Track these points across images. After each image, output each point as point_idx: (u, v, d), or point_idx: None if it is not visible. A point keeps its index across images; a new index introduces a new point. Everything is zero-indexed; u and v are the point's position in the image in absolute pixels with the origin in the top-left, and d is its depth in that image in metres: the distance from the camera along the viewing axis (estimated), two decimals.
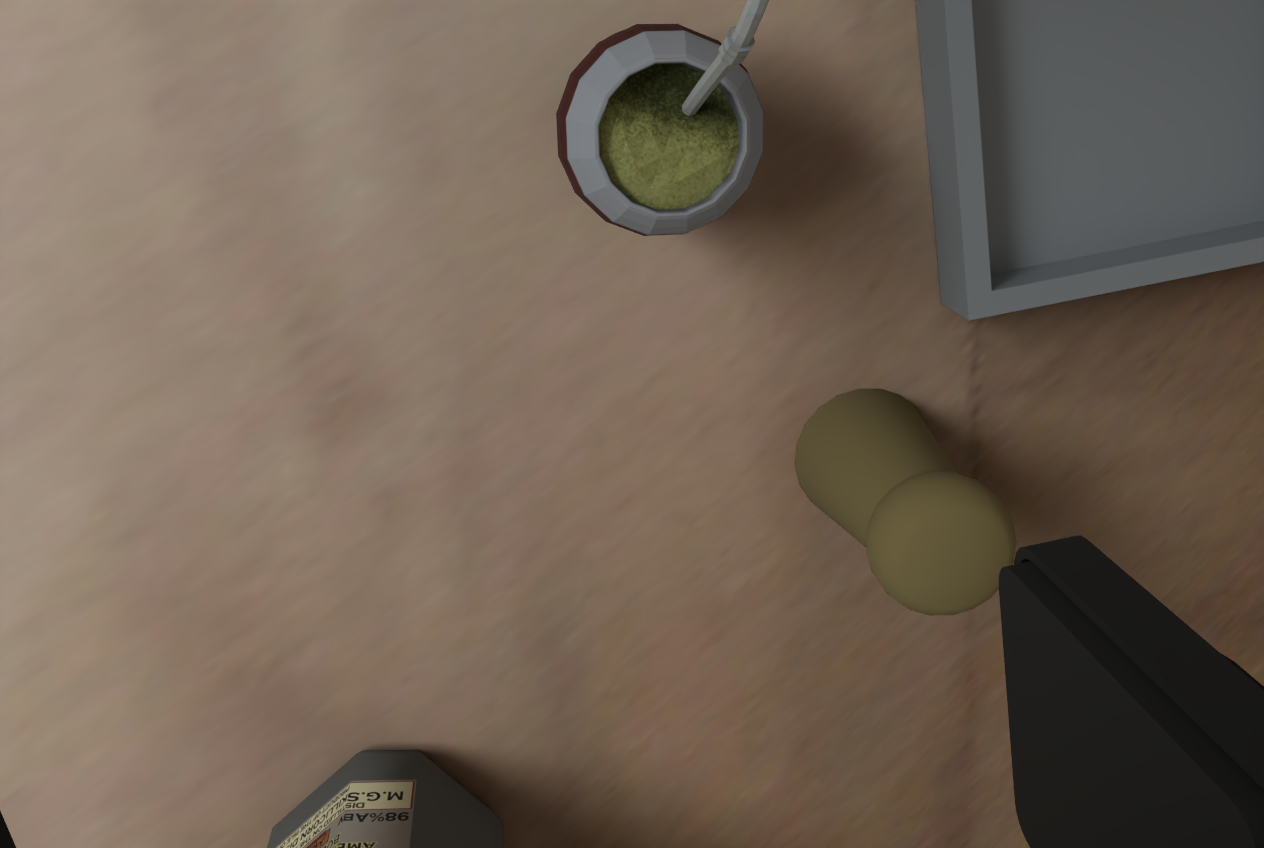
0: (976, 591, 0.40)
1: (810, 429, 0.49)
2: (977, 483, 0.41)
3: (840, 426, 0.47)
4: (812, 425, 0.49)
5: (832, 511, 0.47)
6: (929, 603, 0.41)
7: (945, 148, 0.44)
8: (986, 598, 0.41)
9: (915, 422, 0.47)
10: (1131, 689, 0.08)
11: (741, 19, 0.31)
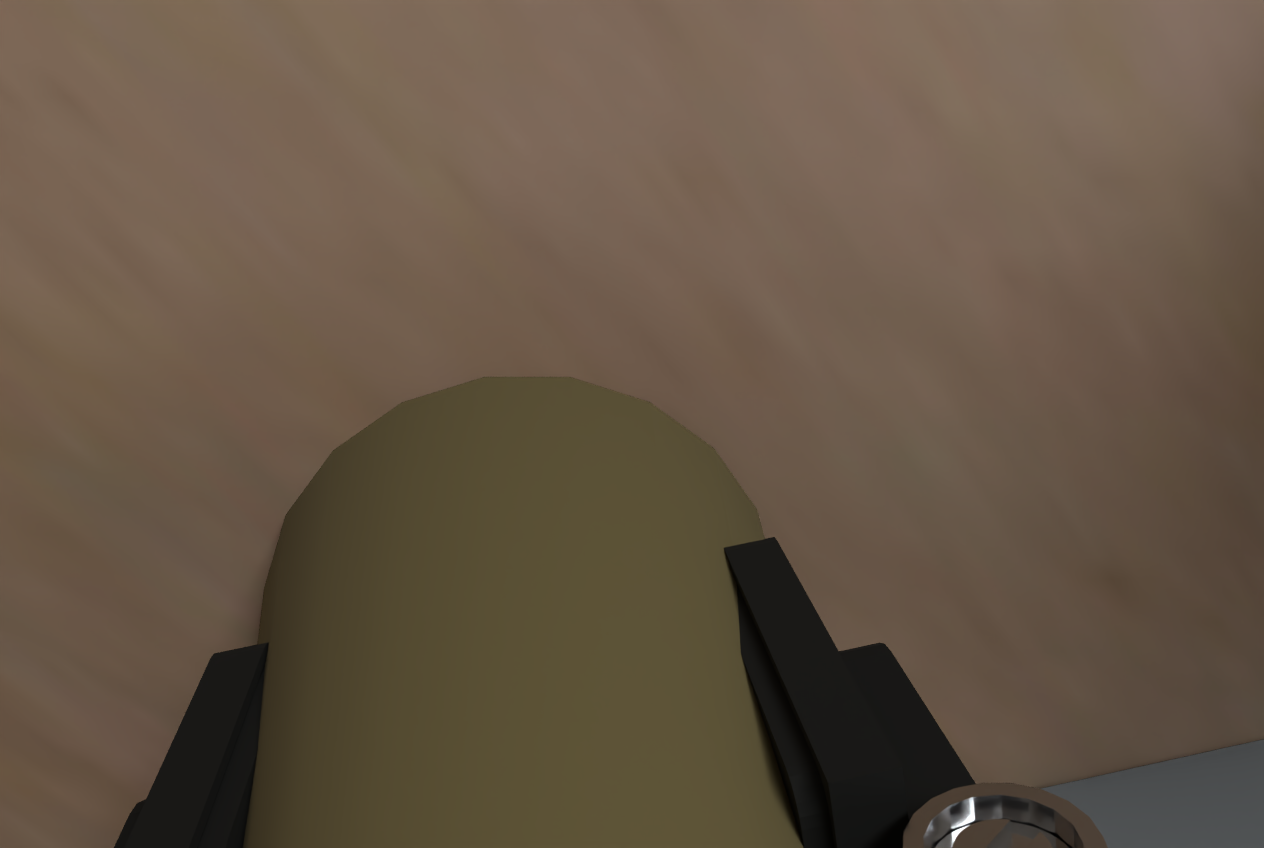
0: None
1: (655, 426, 0.13)
2: None
3: None
4: (666, 431, 0.13)
5: (406, 584, 0.09)
6: None
7: None
8: None
9: None
10: (753, 674, 0.09)
11: None
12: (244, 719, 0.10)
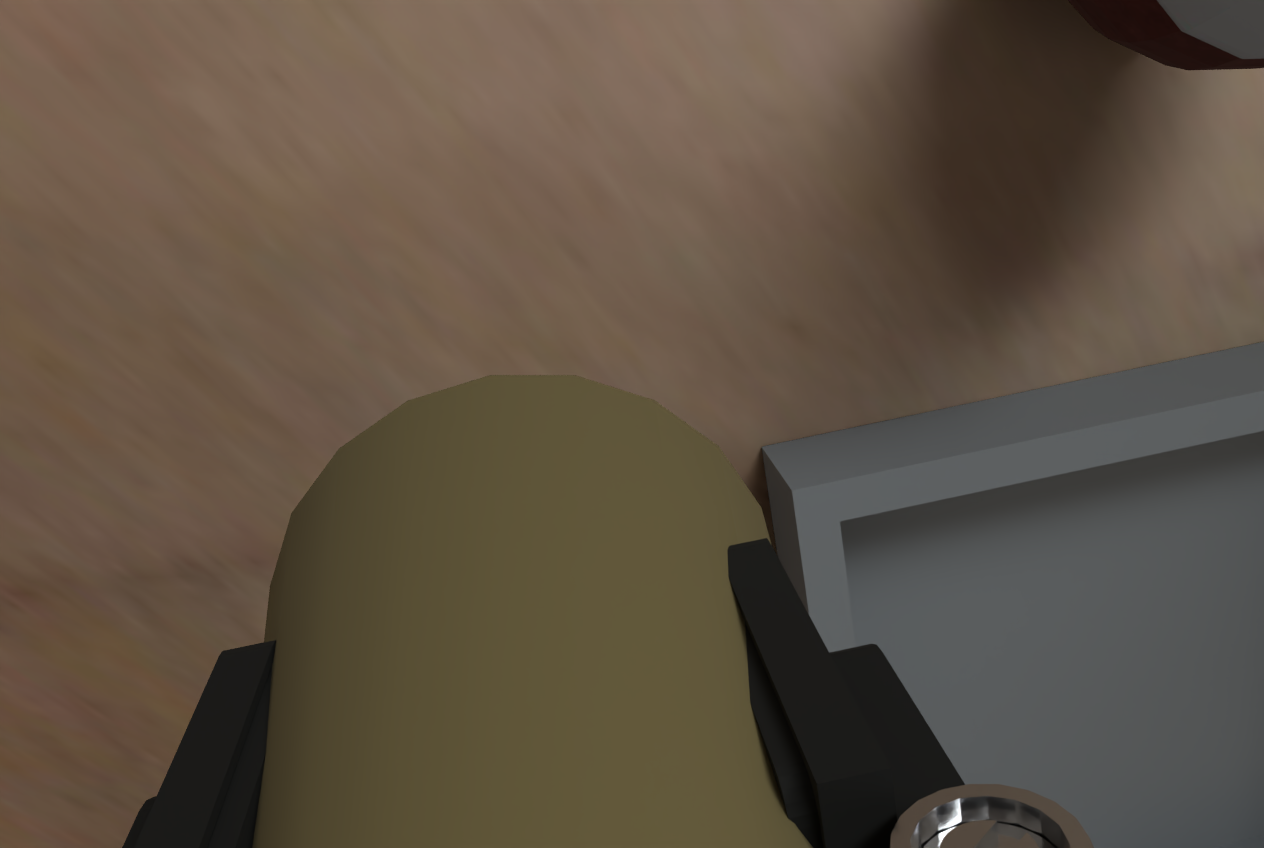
0: None
1: (660, 424, 0.13)
2: None
3: None
4: (672, 429, 0.13)
5: (414, 581, 0.10)
6: None
7: (1051, 417, 0.28)
8: None
9: None
10: None
11: None
12: (253, 716, 0.10)
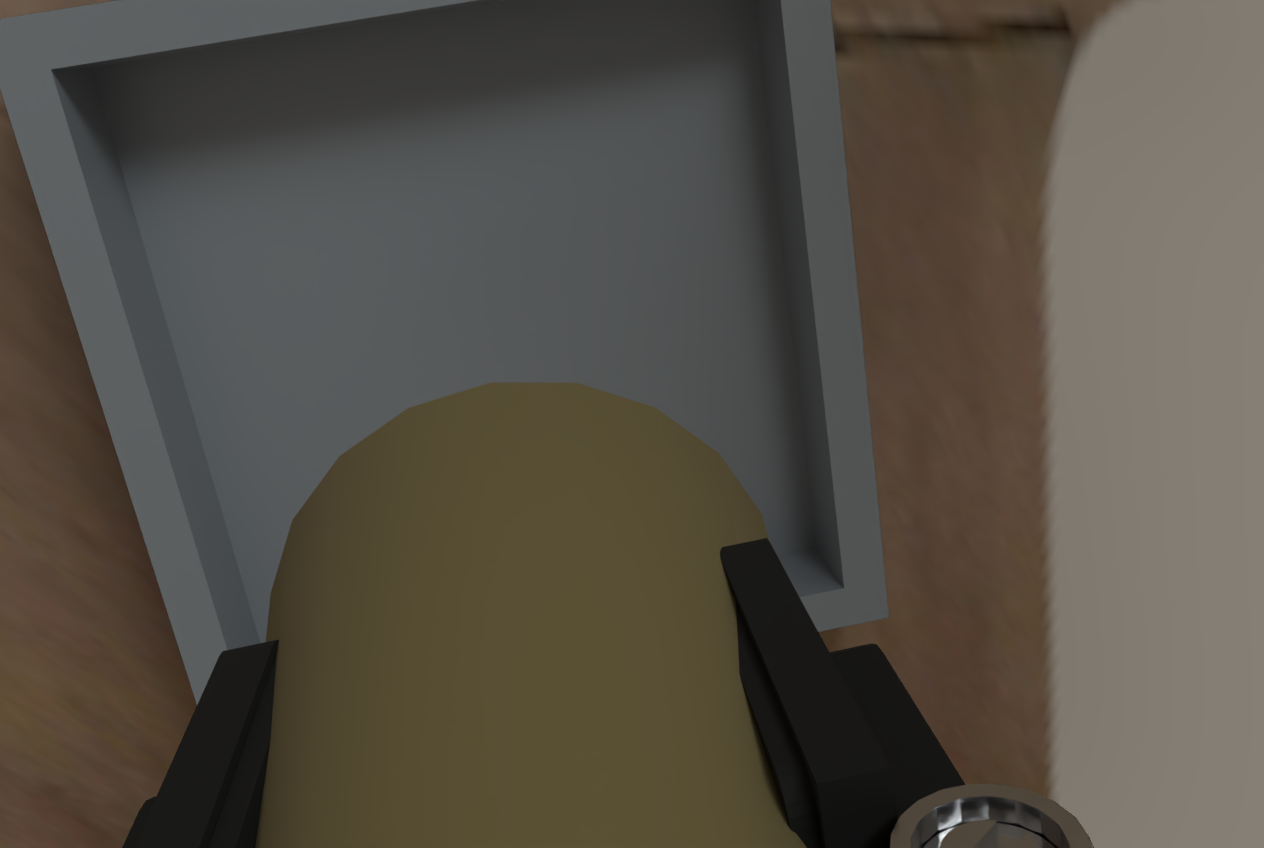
0: None
1: (660, 432, 0.13)
2: None
3: None
4: (673, 436, 0.13)
5: (415, 591, 0.10)
6: None
7: None
8: None
9: None
10: (744, 675, 0.09)
11: None
12: (253, 716, 0.10)
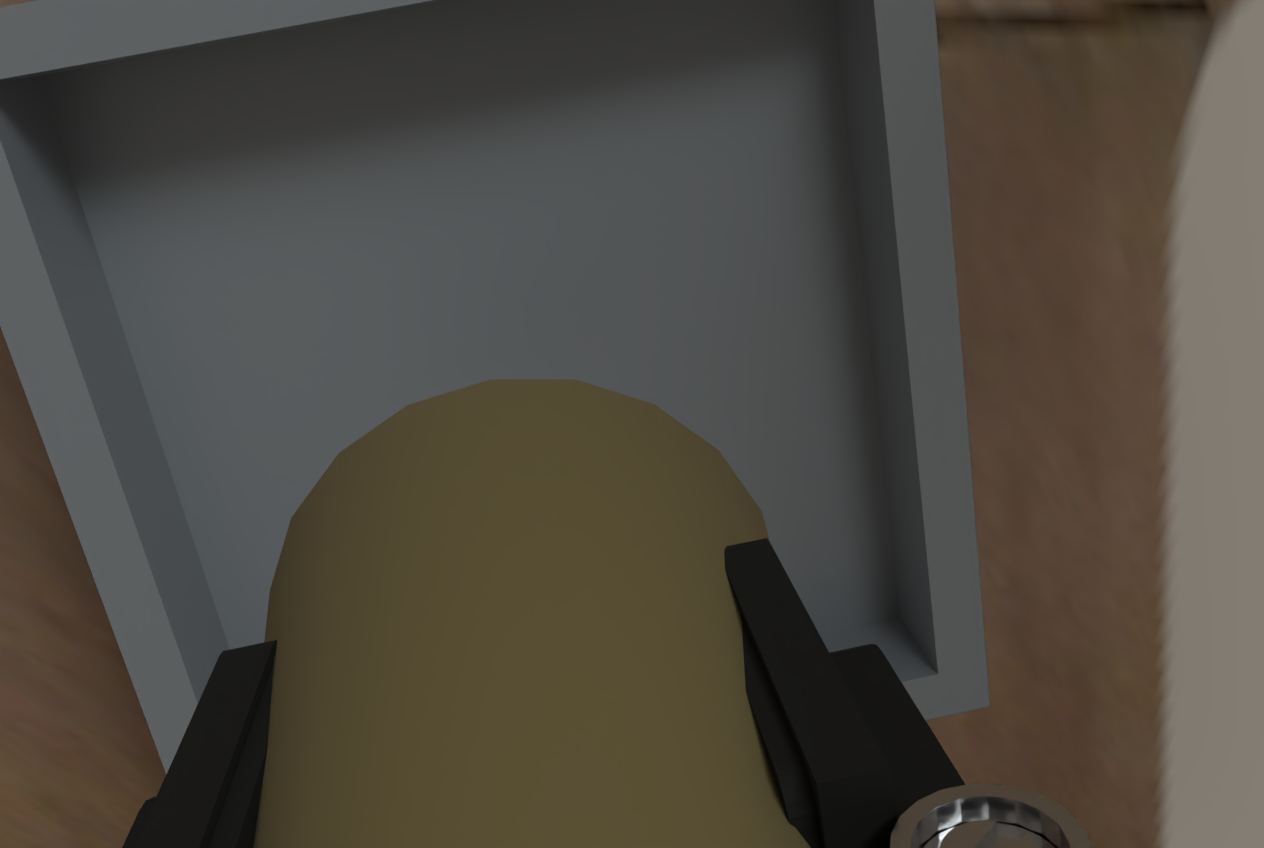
0: None
1: (660, 429, 0.13)
2: None
3: None
4: (672, 434, 0.13)
5: (414, 587, 0.09)
6: None
7: None
8: None
9: None
10: None
11: None
12: (254, 716, 0.10)
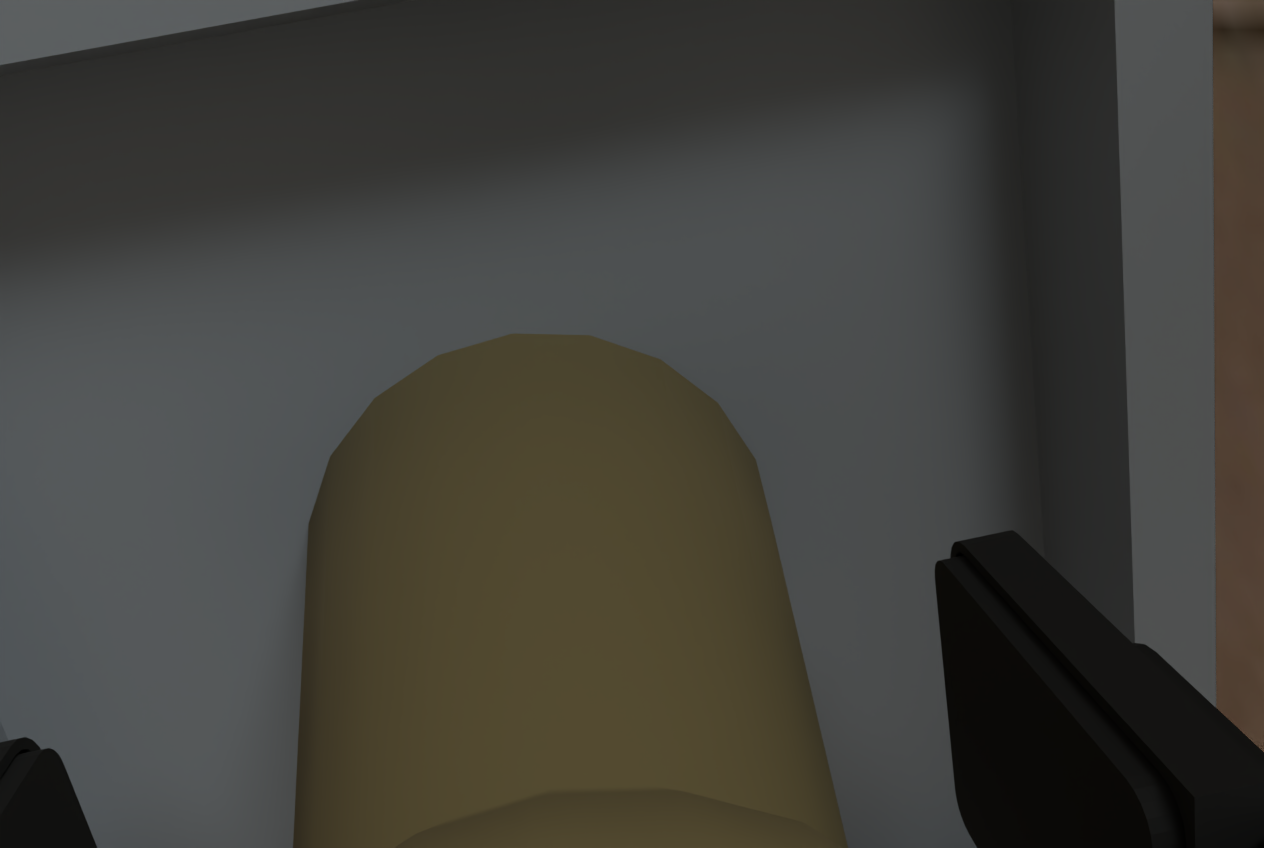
0: None
1: (665, 379, 0.14)
2: None
3: (741, 489, 0.13)
4: (676, 385, 0.14)
5: (451, 500, 0.11)
6: None
7: None
8: None
9: None
10: (1045, 677, 0.08)
11: None
12: None
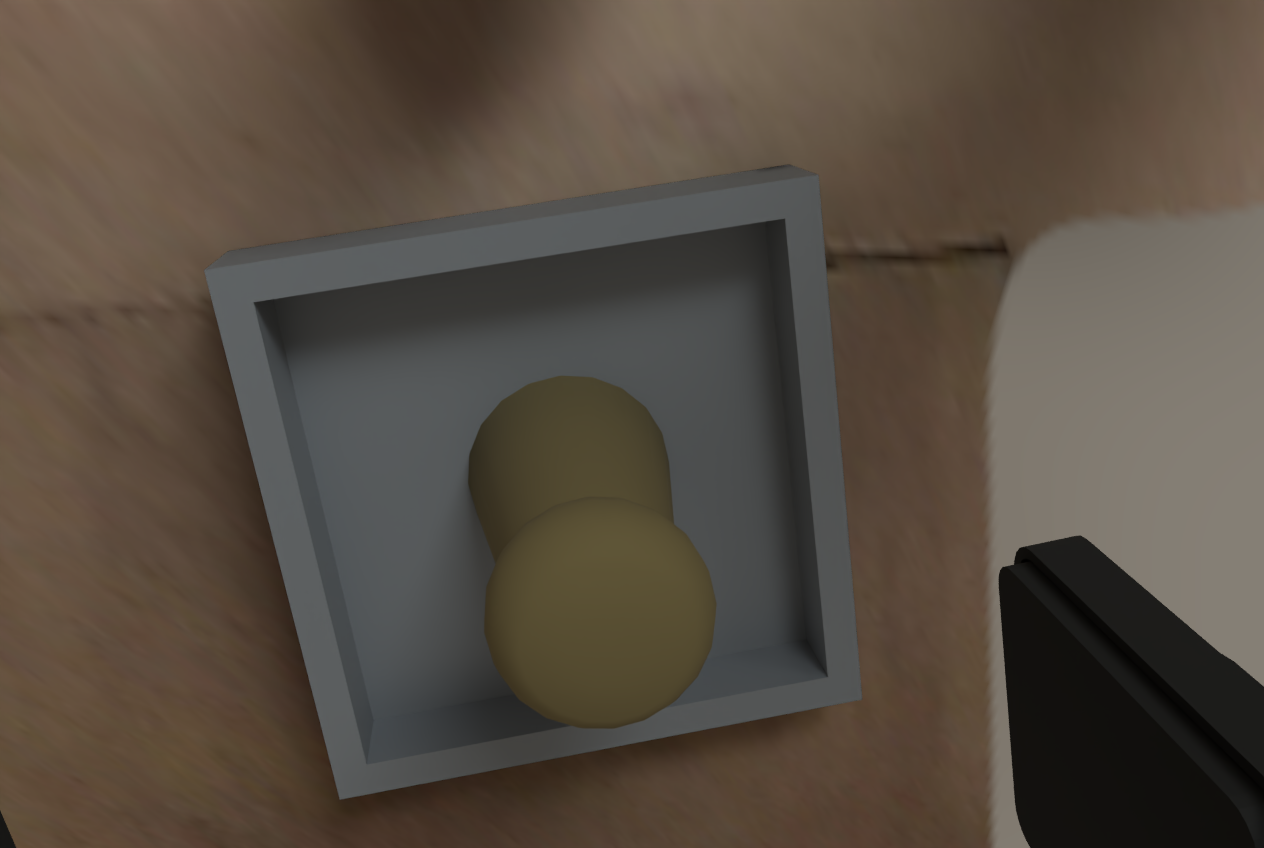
0: (552, 682, 0.25)
1: (623, 396, 0.34)
2: None
3: (652, 440, 0.33)
4: (628, 399, 0.34)
5: (545, 436, 0.30)
6: (535, 611, 0.24)
7: (464, 224, 0.31)
8: (530, 697, 0.25)
9: None
10: (1131, 689, 0.08)
11: None
12: None
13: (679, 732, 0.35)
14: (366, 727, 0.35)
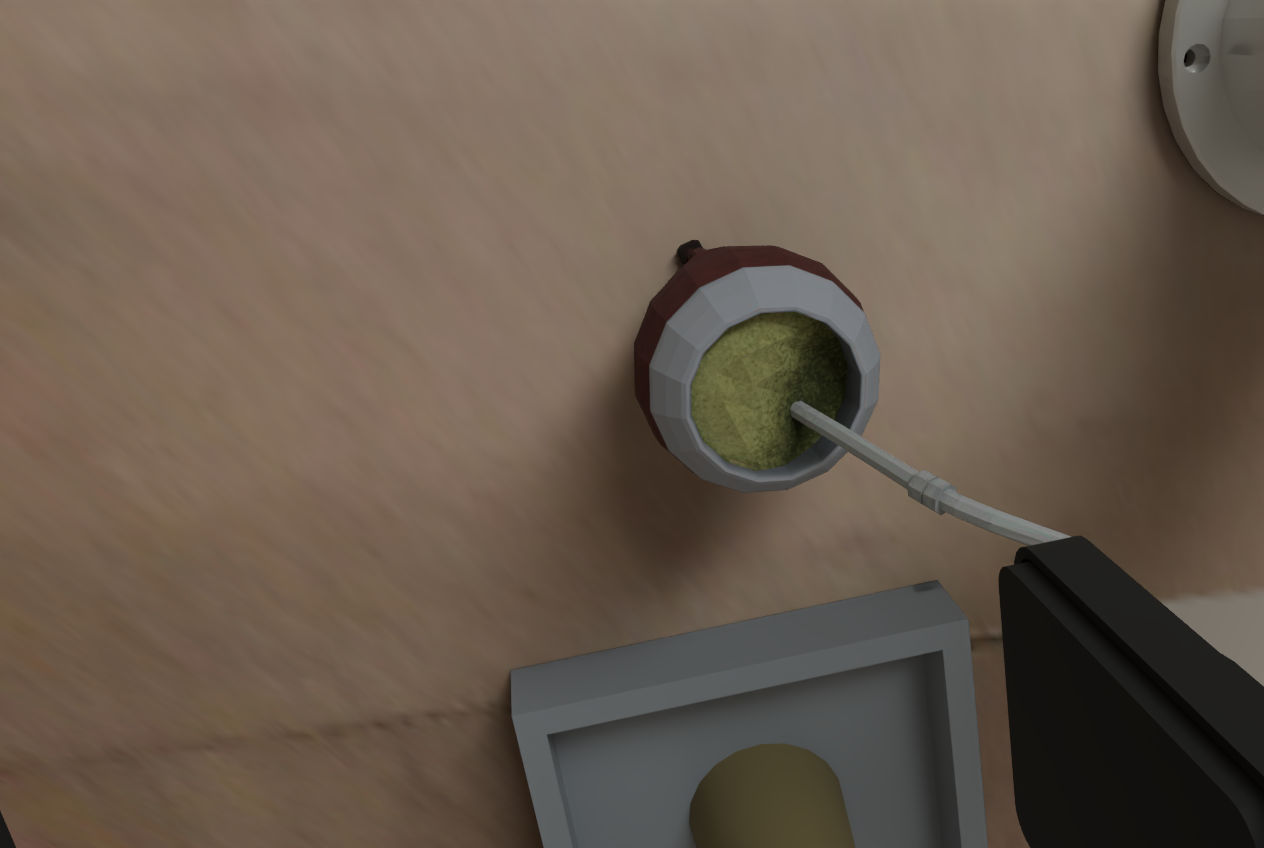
0: None
1: (811, 760, 0.43)
2: None
3: (838, 804, 0.42)
4: (814, 761, 0.44)
5: (765, 822, 0.40)
6: None
7: (697, 659, 0.41)
8: None
9: None
10: (1131, 689, 0.08)
11: (978, 504, 0.27)
12: None
13: None
14: None
